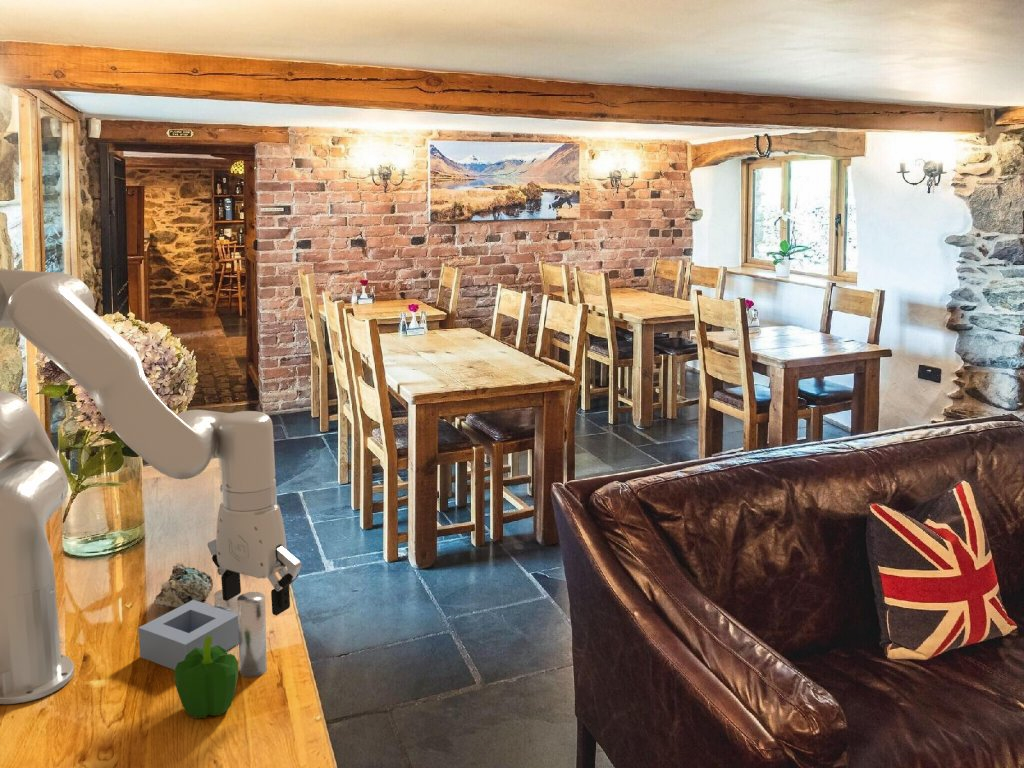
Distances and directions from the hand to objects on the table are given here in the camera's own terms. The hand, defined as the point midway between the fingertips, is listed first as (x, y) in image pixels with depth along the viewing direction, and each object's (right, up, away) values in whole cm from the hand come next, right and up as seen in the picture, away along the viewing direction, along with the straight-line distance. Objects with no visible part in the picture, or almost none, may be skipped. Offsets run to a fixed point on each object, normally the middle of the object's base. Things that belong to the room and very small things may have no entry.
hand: (256, 604), depth 132 cm
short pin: (-9, -8, +15) cm, 19 cm away
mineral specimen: (-19, -6, +23) cm, 30 cm away
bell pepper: (-4, -13, -8) cm, 16 cm away
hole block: (-12, -9, +7) cm, 17 cm away
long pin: (-1, -11, +2) cm, 11 cm away
